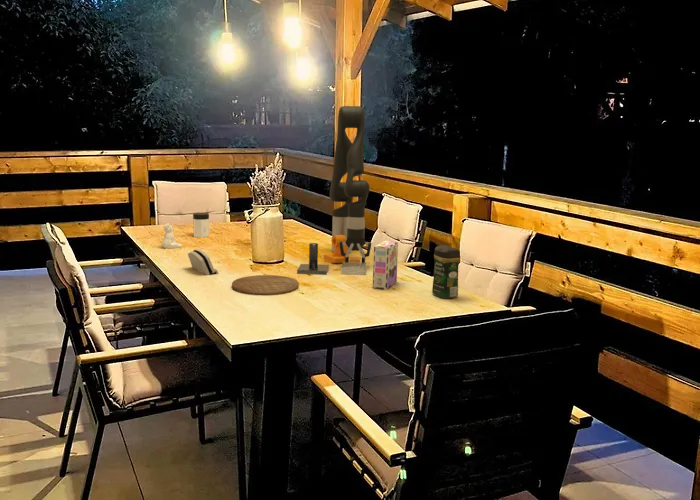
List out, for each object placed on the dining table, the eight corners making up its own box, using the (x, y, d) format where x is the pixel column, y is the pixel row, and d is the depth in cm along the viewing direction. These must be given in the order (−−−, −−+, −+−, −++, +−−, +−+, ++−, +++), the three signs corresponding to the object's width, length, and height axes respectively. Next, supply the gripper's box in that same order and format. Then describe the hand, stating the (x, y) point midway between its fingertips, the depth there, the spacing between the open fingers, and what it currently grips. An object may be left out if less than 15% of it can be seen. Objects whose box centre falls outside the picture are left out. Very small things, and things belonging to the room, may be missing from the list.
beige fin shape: (219, 273, 274) (210, 251, 270) (208, 279, 271) (200, 256, 268) (203, 266, 287) (195, 244, 283) (193, 270, 285) (185, 249, 281)
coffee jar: (428, 293, 251) (430, 244, 247) (446, 291, 254) (448, 243, 250) (443, 300, 242) (445, 249, 238) (461, 298, 246) (464, 247, 242)
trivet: (225, 282, 262) (225, 277, 261) (286, 277, 271) (286, 273, 271) (241, 298, 239) (241, 293, 239) (308, 292, 249) (308, 287, 249)
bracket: (323, 260, 305) (323, 233, 303) (337, 258, 308) (337, 232, 306) (334, 264, 296) (334, 237, 293) (348, 263, 299) (349, 236, 297)
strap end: (343, 265, 295) (344, 256, 294) (366, 265, 295) (367, 257, 294) (341, 274, 278) (341, 264, 278) (365, 274, 278) (365, 265, 277)
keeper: (300, 267, 289) (301, 240, 287) (328, 268, 288) (329, 241, 286) (297, 273, 277) (297, 246, 275) (326, 274, 277) (326, 247, 274)
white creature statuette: (182, 248, 323) (182, 223, 321) (165, 250, 318) (164, 225, 316) (175, 245, 331) (175, 221, 329) (158, 246, 326) (157, 222, 324)
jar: (198, 238, 351) (197, 215, 348) (189, 236, 356) (189, 213, 354) (213, 236, 357) (212, 213, 355) (204, 234, 363) (204, 212, 360)
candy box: (386, 290, 254) (388, 247, 251) (372, 288, 256) (373, 245, 253) (397, 282, 267) (398, 241, 264) (383, 280, 269) (384, 239, 266)
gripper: (372, 226, 291) (371, 264, 295) (339, 225, 292) (338, 263, 295) (372, 229, 284) (371, 268, 287) (338, 228, 285) (337, 267, 288)
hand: (354, 265), depth 291 cm, fingers open, 5 cm apart
